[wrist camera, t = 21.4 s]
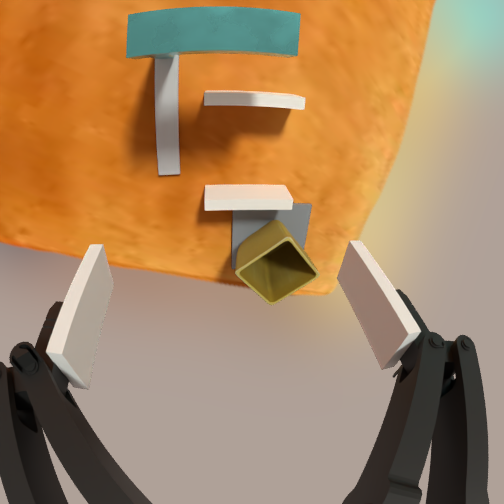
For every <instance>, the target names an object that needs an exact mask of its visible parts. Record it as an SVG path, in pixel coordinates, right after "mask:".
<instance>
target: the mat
mask: <svg viewBox="0 0 504 504" xmlns="http://www.w3.org/2000/svg"><path fill="white" fill-rule="evenodd" d="M311 207H312V205H311V204H303V203H293V206H292V210H233V222H232V269H235V268H236V258H237V252H238V249H239V247H240V245H241V244H242V242H243V241H244V240H245V239H246V238H247V237H249V236H250V235H251V234H253V233H254V232H256V231H257V230H259V229H260V228H261V227H263V226H264V225H266V224H267V223H269V222H270V221H272V220H279V221H280V222H282V223H283V225H284V226H285V227H286V228H287V230H288V231H289V232H290V234H291V235H292V236H293V237H294V239H295V240H296V241H297V242H298V244H299V245H300V246H301V247H302V249H303V250H304V245H305V240H306V235H307V230H308V224H309V219H310V213H311Z"/></svg>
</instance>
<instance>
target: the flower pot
mask: <svg viewBox="0 0 504 504" xmlns="http://www.w3.org/2000/svg"><path fill="white" fill-rule="evenodd" d="M235 274H236V275H237V276H238V277H239V278H240V279H241V280H242V281H243V282H244V283H245V284H246V285H248V286H249V287H250V288H251V289H252V290H253V291H254V292H255V293H257V294H258V295H259V296H260V297H261V298H262V299H263V300H264V301H265V302H267V303H268V304H270V305H274V304H275V303H277V302H279V301H281V300H282V299H284V298H286V297H287V296H289V295H291V294H292V293H294V292H295V291H297V290H299V289H300V288H302V287H304V286H305V285H307V284H309V283H310V282H312V281H313V280H315V279H316V278H317V277H319V276H320V274H319V272H318V270H317V269H316V267H315V266H314V264H313V262H312V261H311V259H310V258H309V256H308V255H307V253H306V252H305V251H304V250H303V249H302V247H301V246H300V245H299V244H298V242H297V241H296V240H295V239H294V237H293V236H292V235H291V234H290V232H289V231H288V230H287V228H286V227H285V226H284V225H283V223H282V222H280V221H279V220H272V221H270V222H269V223H267V224H266V225H264V226H263V227H261V228H260V229H259V230H257V231H256V232H254V233H253V234H251V235H250V236H249V237H247V238H246V239H245V240H244V241H243V242H242V244H241V245H240V247H239V249H238V252H237V258H236V268H235Z"/></svg>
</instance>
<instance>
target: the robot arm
mask: <svg viewBox="0 0 504 504" xmlns="http://www.w3.org/2000/svg"><path fill="white" fill-rule="evenodd" d="M337 279H338V281H339V283H340V285H341V287H342V289H343V291H344V293H345V294H346V297H347V298H348V300H349V302H350V304H351V306H352V308H353V310H354V312H355V314H356V316H357V318H358V320H359V322H360V324H361V327H362V329H363V331H364V333H365V335H366V337H367V339H368V341H369V343H370V345H371V347H372V350H373V352H374V354H375V356H376V358H377V360H378V362H379V365H380V367H381V369H382V370H383V369H386V368H390V367H394V366H395V365H396V363H397V362H398V361H399V360H400V361H401V363H402V365H401V366H400V368H399V369H398V370H397V371H396V372H395V373H394V375H393V377H395V376H396V375H397V374H398V376H397V379H396V383H395V387H394V390H393V393H392V397H391V400H390V403H389V406H388V409H387V412H386V416H385V418H384V421H383V424H382V426H381V429H380V432H379V435H378V437H377V440H376V442H375V445H374V447H373V450H372V452H371V455H370V457H369V459H368V461H367V464H366V466H365V468H364V470H363V473H362V475H361V477H360V479H359V481H358V483H357V485H356V487H355V488H354V489H353V490H352V491H351V492H350V493H349V494H348V496H347V497H346V498H345V500H344V501H343V503H342V504H419V502H420V500H421V496H422V490H421V489H420V488H419V487H418V484H419V480H420V477H421V474H422V471H423V468H424V465H425V461H426V458H427V454H428V451H429V447H430V443H431V440H432V447H431V462H430V463H431V464H430V474H429V482H428V491H427V498H426V504H489V498H488V493H487V482H488V431H487V418H486V408H485V400H484V392H483V385H482V379H481V373H480V368H479V363H478V358H477V353H476V349H475V345H474V343H473V341H472V340H471V339H470V338H469V337H467V336H465V335H460V336H458V338H457V339H456V340H455V341H444V339H443V338H442V337H441V336H440V335H439V334H437V333H434V332H430V331H429V330H428V329H427V327H426V325H425V323H424V322H423V320H422V319H421V317H420V315H419V314H418V312H417V311H416V310H415V308H414V306H413V305H412V303H411V302H410V300H409V298H408V297H407V296H406V295H405V294H404V293H403V292H402V291H401V290H399V289H398V290H395V289H394V287H393V286H392V284H391V283H390V281H389V280H388V278H387V277H386V275H385V274H384V272H383V271H382V269H381V268H380V267H379V265H378V264H377V262H376V261H375V260H374V258H373V257H372V255H371V254H370V253H369V251H368V250H367V248H366V247H365V246H364V244H363V243H362V242H361V241H349V244H348V247H347V250H346V253H345V256H344V259H343V262H342V265H341V268H340V271H339V274H338V277H337ZM113 286H114V282H113V279H112V275H111V272H110V269H109V265H108V261H107V258H106V254H105V250H104V246H103V244H95V245H90V246H89V248H88V250H87V252H86V254H85V256H84V258H83V260H82V262H81V264H80V267H79V269H78V271H77V273H76V275H75V277H74V279H73V282H72V284H71V286H70V288H69V291H68V293H67V296H66V298H65V300H64V302H56V303H55V304H54V305H53V306H52V307H51V308H50V309H49V312H48V314H47V317H46V320H45V322H44V324H43V328H42V329H41V332H40V335H39V337H38V340H37V343H36V346H35V348H34V347H33V345H32V344H30V343H29V342H21V343H19V344H17V345H16V346H15V347H14V348H13V349H12V351H11V353H10V357H9V358H10V363H11V364H12V366H13V367H9V368H7V367H6V366H5V365H4V364H3V363H2V362H0V477H1V480H2V483H3V486H4V490H5V493H6V496H7V499H8V502H9V504H68V502H67V500H66V497H65V495H64V493H63V490H62V488H61V485H60V483H59V481H58V478H57V475H56V472H55V470H54V467H53V464H52V461H51V458H50V454H49V451H48V448H47V445H46V441H45V437H44V434H43V430H44V432H45V434H46V436H47V438H48V440H49V442H50V444H51V446H52V448H53V449H54V451H55V453H56V455H57V457H58V458H59V460H60V462H61V463H62V465H63V467H64V468H65V470H66V472H67V473H68V475H69V476H70V478H71V479H72V481H73V482H74V484H75V485H76V487H77V488H78V490H79V491H80V493H81V494H82V495H83V497H84V498H85V499H86V501H87V502H88V503H89V504H152V503H151V502H150V501H149V500H148V499H147V498H146V497H145V496H144V494H143V493H142V492H141V491H140V490H139V489H138V488H137V487H136V486H135V485H134V483H133V482H132V481H131V480H130V479H129V478H128V476H127V475H126V474H125V473H124V472H123V470H122V469H121V468H120V467H119V465H118V464H117V463H116V462H115V460H114V459H113V458H112V456H111V455H110V454H109V452H108V451H107V450H106V449H105V447H104V445H103V444H102V443H101V441H100V440H99V438H98V437H97V435H96V434H95V432H94V431H93V429H92V428H91V426H90V425H89V423H88V422H87V420H86V418H85V417H84V415H83V414H82V412H81V410H80V409H79V407H78V405H77V403H76V402H75V400H74V398H73V396H72V394H71V393H70V391H69V390H68V389H67V387H68V383H69V382H70V383H71V384H72V385H73V387H76V388H82V389H89V386H90V380H91V375H92V370H93V365H94V360H95V355H96V351H97V346H98V342H99V338H100V334H101V330H102V326H103V322H104V318H105V314H106V310H107V307H108V303H109V300H110V296H111V293H112V290H113ZM454 374H456V379H454V376H453V375H454ZM42 428H43V430H42Z"/></svg>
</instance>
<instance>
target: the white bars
mask: <svg viewBox="0 0 504 504" xmlns="http://www.w3.org/2000/svg"><path fill="white" fill-rule="evenodd" d="M178 82H179V55H174V58H168V59H155V121H156V142H157V158H158V171H159V175H172V174H180V156H179V117H178ZM209 105H235V106H263V107H279V108H291V109H301V110H304V108H305V98H304V97H301V96H298V95H294V94H284V93H272V92H256V91H205V93H204V106H209ZM292 206H293V198H292V197H291V195H290V193H289V191H288V190H287V188H286V186H285V185H205V211H211V210H292Z"/></svg>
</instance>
